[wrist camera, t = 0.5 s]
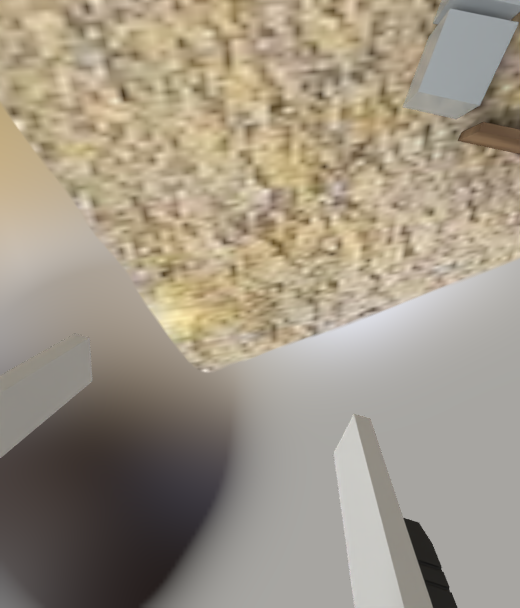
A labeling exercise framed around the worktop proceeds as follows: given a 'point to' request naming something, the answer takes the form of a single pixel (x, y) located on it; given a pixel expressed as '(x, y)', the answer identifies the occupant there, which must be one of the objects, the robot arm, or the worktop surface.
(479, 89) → the tile
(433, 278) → the worktop surface
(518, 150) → the frame
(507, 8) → the light grey square block
